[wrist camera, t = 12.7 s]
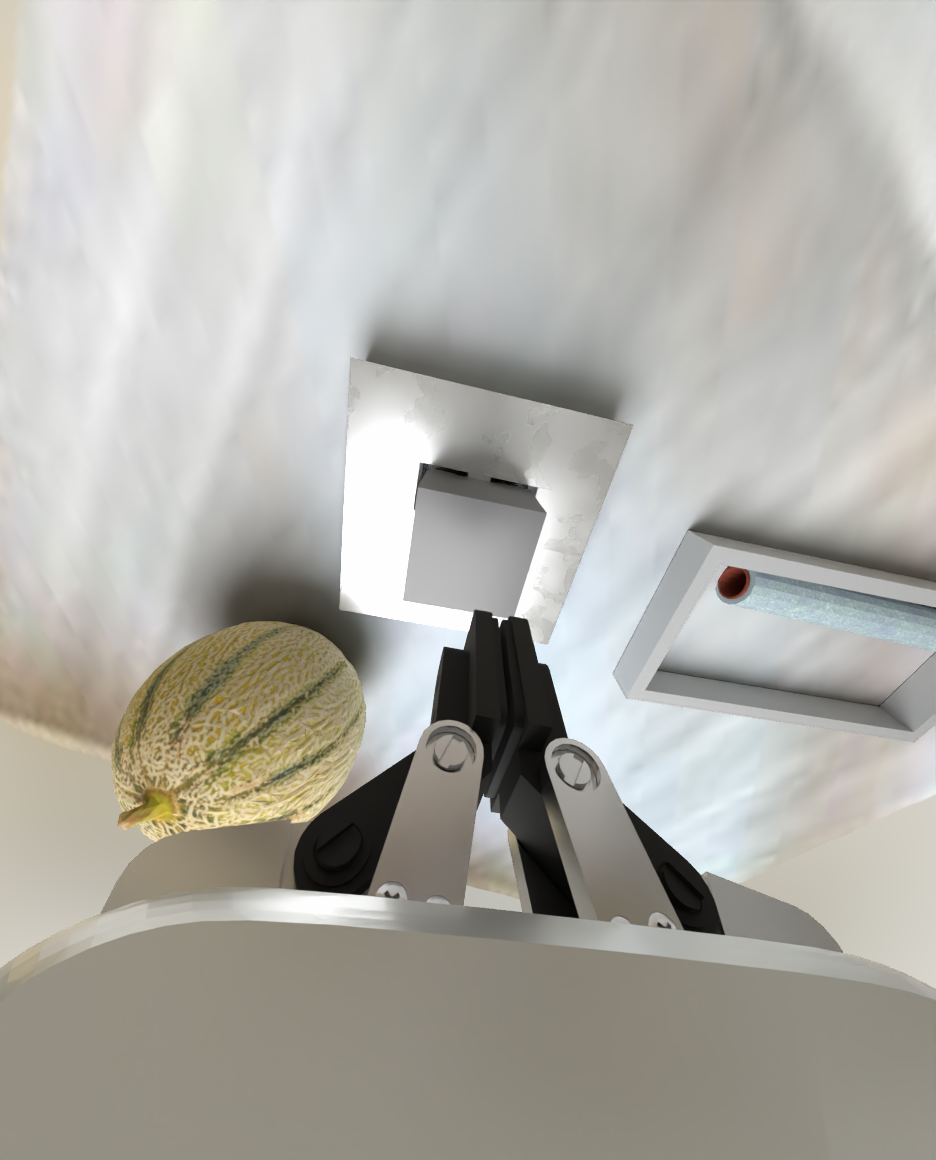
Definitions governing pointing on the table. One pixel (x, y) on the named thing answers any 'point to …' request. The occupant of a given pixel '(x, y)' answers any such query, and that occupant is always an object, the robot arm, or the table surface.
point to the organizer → (902, 716)
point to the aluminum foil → (830, 607)
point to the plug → (471, 544)
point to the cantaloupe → (239, 732)
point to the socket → (482, 449)
